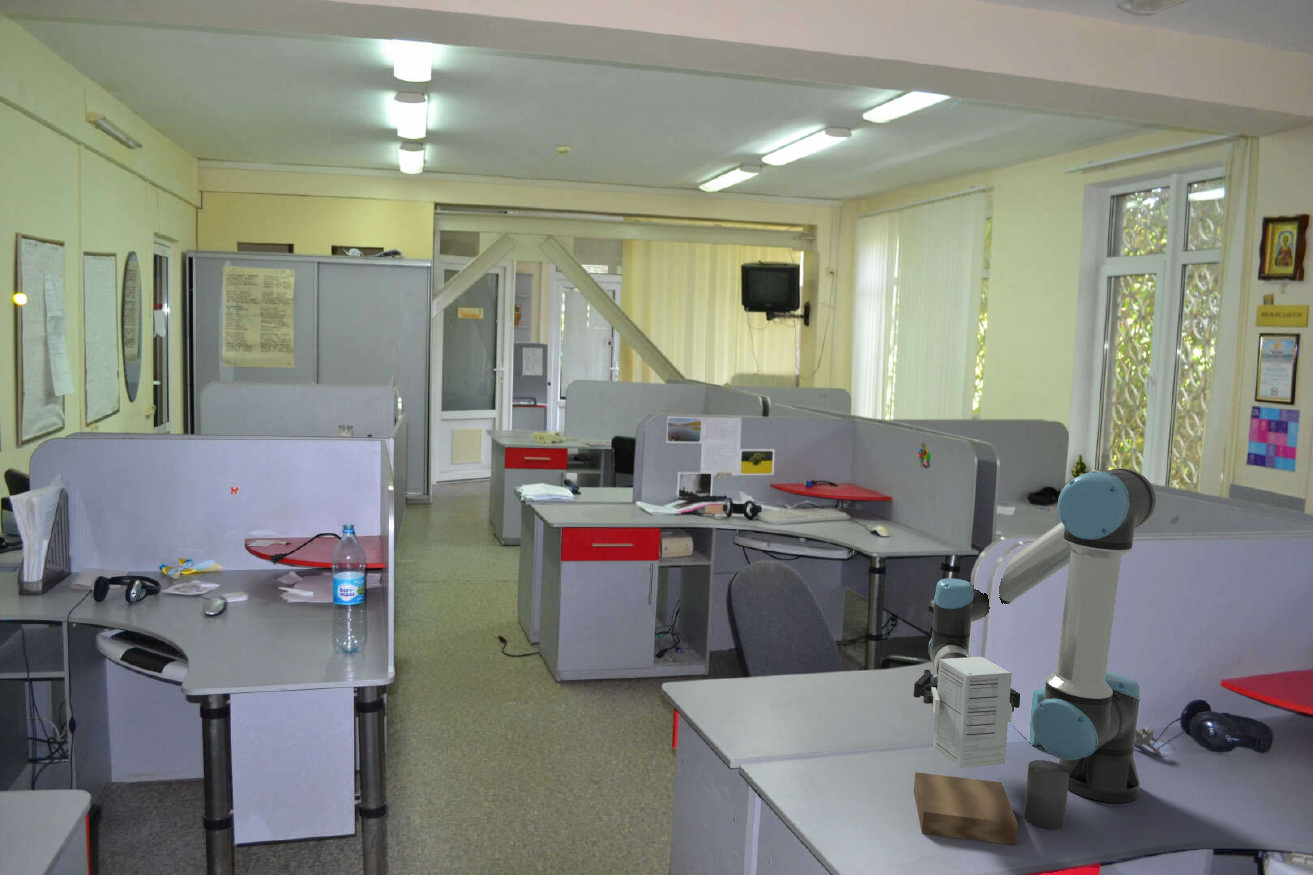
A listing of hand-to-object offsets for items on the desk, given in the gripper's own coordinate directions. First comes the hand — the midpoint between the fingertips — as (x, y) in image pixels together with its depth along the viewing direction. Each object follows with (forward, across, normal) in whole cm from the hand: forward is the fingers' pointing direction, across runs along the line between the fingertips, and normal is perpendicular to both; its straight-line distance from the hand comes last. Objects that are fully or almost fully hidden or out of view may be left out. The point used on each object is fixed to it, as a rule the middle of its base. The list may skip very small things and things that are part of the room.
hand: (973, 710), depth 174 cm
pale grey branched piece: (-46, -43, -22) cm, 67 cm away
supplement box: (-2, 0, -9) cm, 9 cm away
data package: (-47, -22, -22) cm, 56 cm away
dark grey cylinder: (-7, -15, -22) cm, 28 cm away
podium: (-4, 0, -22) cm, 22 cm away
